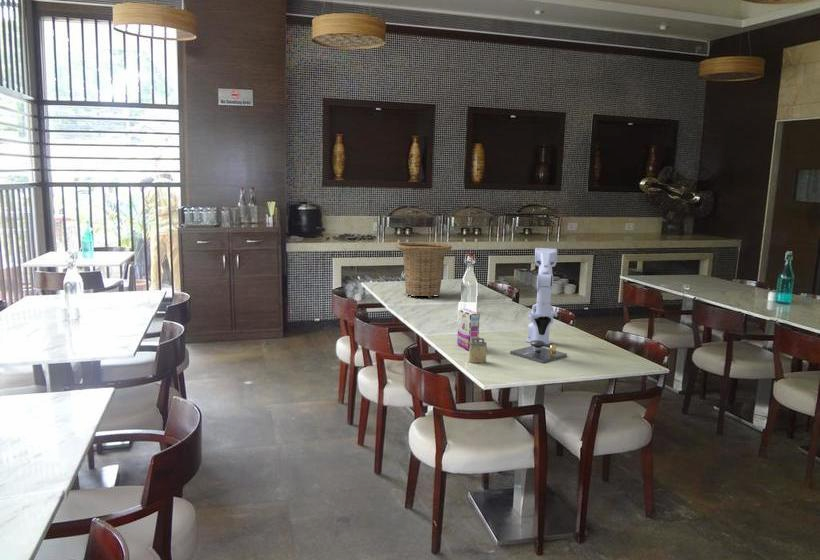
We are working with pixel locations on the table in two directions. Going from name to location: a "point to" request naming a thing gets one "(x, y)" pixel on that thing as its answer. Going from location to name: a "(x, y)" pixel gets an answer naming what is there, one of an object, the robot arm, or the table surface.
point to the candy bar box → (467, 327)
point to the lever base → (538, 354)
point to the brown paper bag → (477, 351)
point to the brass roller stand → (544, 345)
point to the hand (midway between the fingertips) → (541, 334)
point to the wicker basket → (423, 266)
